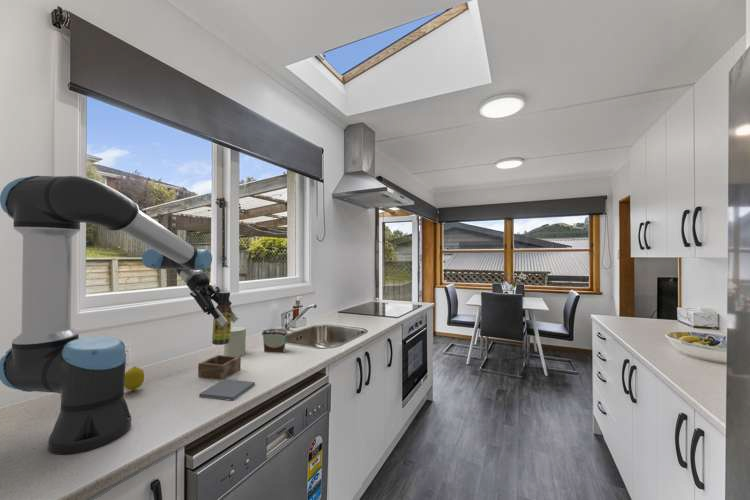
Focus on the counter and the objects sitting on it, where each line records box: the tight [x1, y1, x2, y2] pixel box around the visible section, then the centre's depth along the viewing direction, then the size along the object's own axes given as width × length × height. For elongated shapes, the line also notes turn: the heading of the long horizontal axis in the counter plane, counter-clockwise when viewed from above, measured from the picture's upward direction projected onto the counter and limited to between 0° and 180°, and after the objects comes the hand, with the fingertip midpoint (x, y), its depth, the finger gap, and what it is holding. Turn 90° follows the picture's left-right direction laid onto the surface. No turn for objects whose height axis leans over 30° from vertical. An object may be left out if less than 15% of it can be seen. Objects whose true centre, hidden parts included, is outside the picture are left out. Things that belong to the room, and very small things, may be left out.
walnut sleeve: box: [197, 354, 242, 380], centre depth 118 cm, size 10×10×5 cm
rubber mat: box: [198, 378, 256, 401], centre depth 103 cm, size 12×12×1 cm
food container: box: [261, 328, 288, 354], centre depth 147 cm, size 12×6×10 cm, turn 84°
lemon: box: [124, 366, 145, 392], centre depth 101 cm, size 6×6×8 cm
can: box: [223, 326, 247, 357], centre depth 141 cm, size 9×9×12 cm
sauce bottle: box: [211, 291, 233, 346], centre depth 119 cm, size 6×6×20 cm
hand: (230, 322), depth 118 cm, fingers closed on sauce bottle, 6 cm apart
